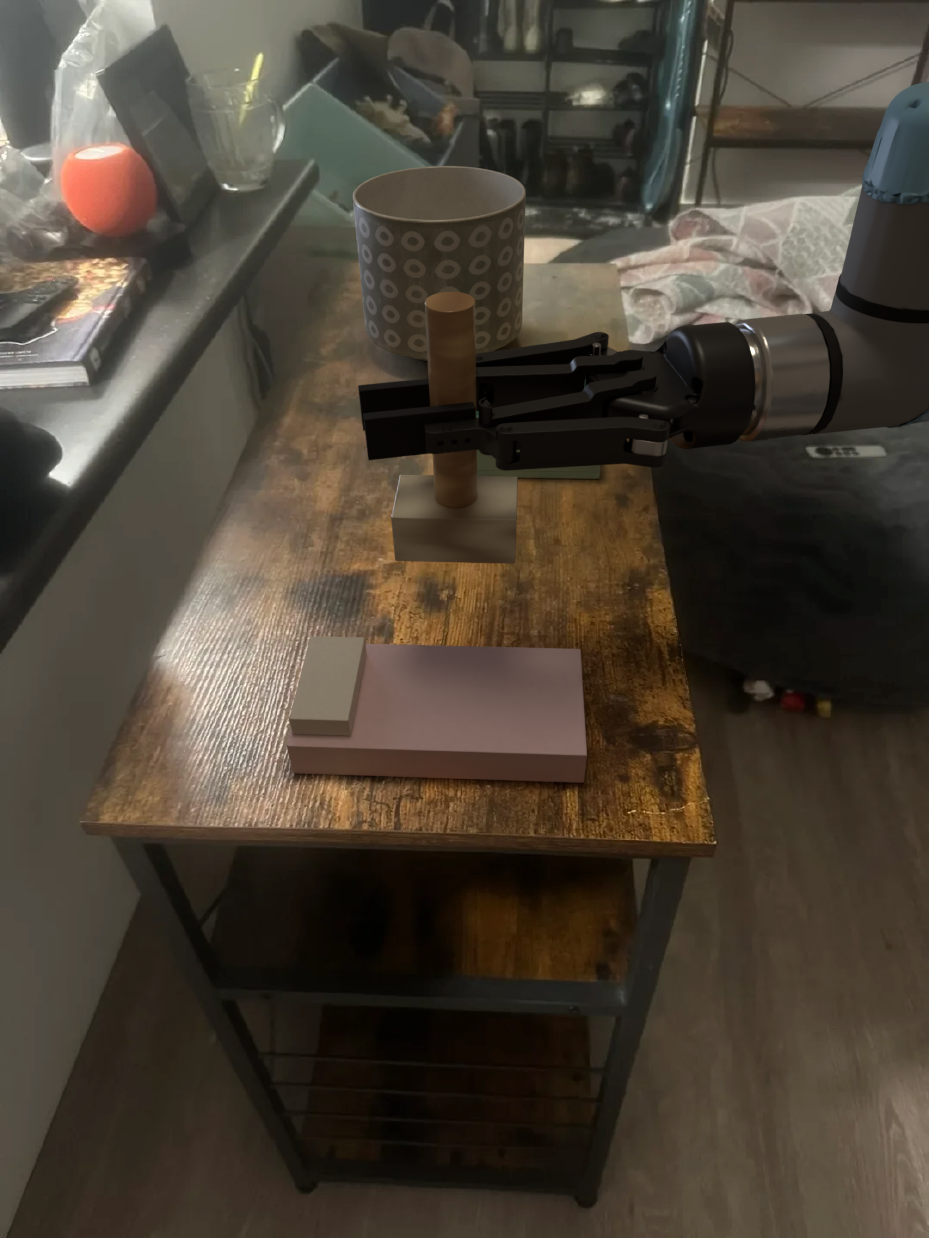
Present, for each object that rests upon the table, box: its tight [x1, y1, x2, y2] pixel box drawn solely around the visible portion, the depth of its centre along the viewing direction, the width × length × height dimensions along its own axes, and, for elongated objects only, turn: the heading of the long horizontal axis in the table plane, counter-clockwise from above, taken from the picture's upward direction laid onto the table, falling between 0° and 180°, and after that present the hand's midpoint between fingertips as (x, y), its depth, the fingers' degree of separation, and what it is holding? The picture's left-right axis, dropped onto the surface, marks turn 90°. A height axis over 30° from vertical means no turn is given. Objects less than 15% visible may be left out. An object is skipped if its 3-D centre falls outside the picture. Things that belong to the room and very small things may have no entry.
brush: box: [390, 292, 519, 565], centre depth 54 cm, size 8×5×17 cm, turn 86°
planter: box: [352, 165, 527, 362], centre depth 103 cm, size 19×19×18 cm
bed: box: [286, 635, 588, 784], centre depth 62 cm, size 20×10×5 cm, turn 87°
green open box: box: [476, 379, 602, 480], centre depth 90 cm, size 14×12×5 cm
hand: (364, 422), depth 53 cm, fingers closed on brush, 3 cm apart
